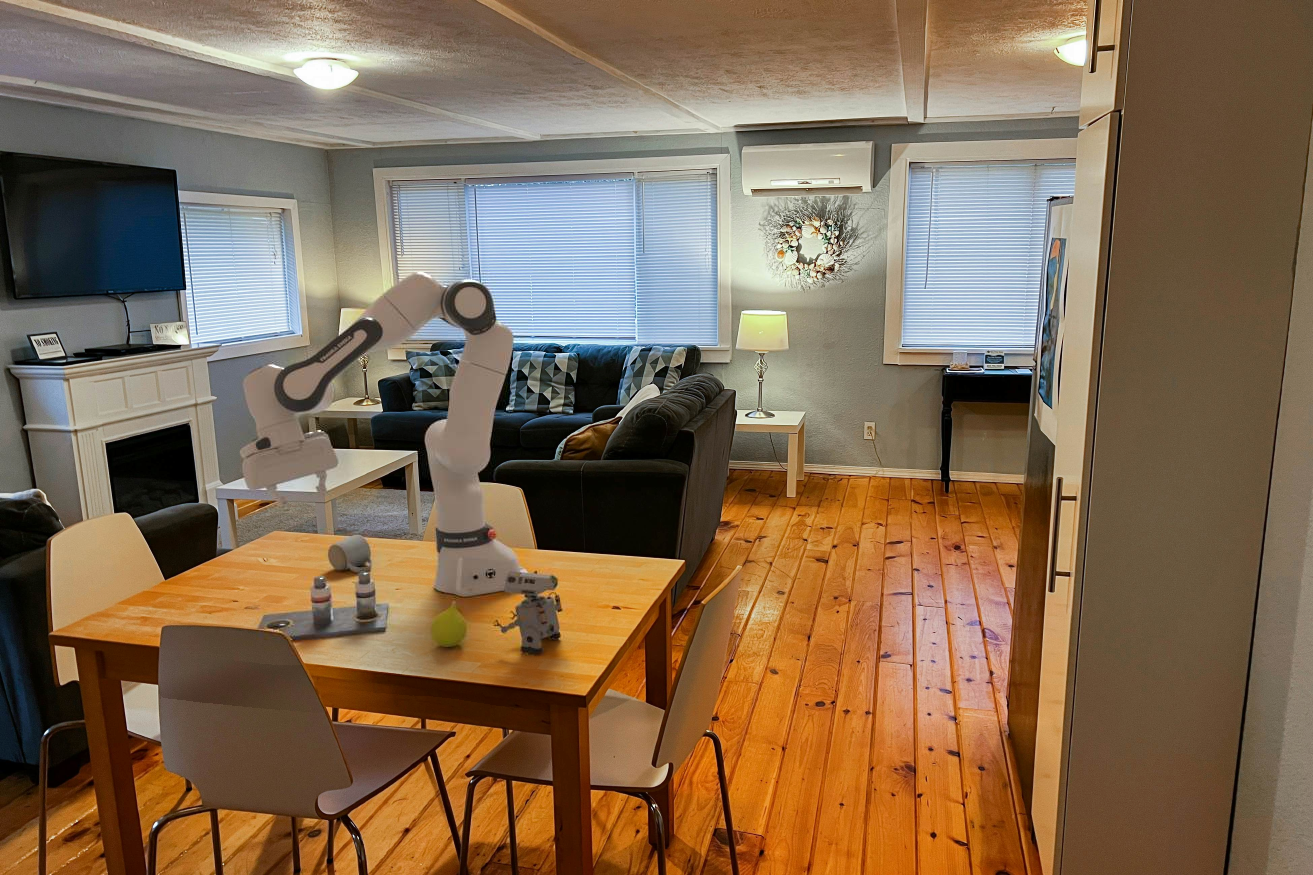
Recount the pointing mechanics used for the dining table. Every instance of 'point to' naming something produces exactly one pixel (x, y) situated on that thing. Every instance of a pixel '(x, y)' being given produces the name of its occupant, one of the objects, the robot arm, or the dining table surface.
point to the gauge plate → (342, 624)
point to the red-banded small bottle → (321, 601)
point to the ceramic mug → (350, 554)
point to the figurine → (533, 609)
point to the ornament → (448, 627)
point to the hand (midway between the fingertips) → (303, 498)
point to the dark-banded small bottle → (365, 596)
